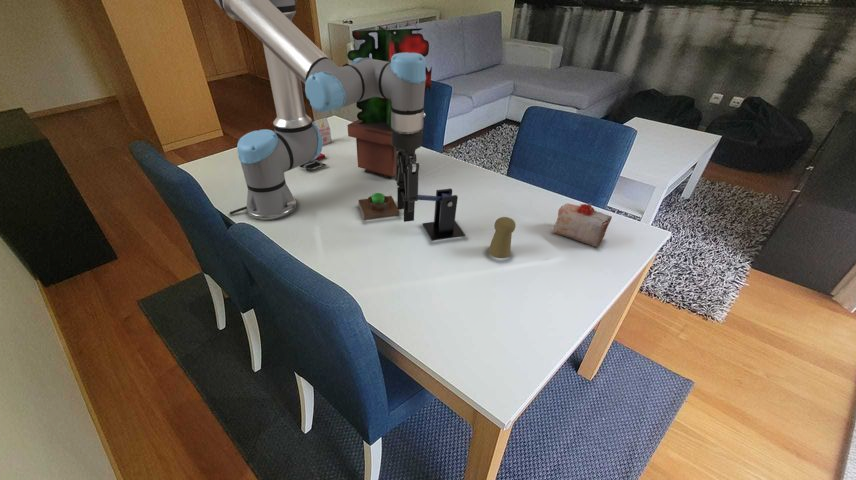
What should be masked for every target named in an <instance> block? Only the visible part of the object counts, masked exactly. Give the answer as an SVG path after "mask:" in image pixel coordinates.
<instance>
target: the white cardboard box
mask: <svg viewBox="0 0 856 480" xmlns="http://www.w3.org/2000/svg"><path fill="white" fill-rule="evenodd" d="M312 123H314V124H315V125H316V126H317V127H318V131H319V132H320V133H321V136H322V143H323V144H322V146H325V145H328V144H332V142H333V141H332V134H331V127H330V124H329V120H328V117H324V118H320V119H316V120H312Z"/></svg>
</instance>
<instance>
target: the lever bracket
mask: <svg viewBox="0 0 856 480" xmlns="http://www.w3.org/2000/svg"><path fill="white" fill-rule="evenodd" d="M442 193H446V194H451V195H452V196H444V197H441V203H440V201H434V202H435V203H434V213H433V214H434V215H433V221H429V222H423V223H422V226H423V228H424V230H425V232H426V233H427V235H428V237H429V239H430V240H431V242H434V241H440V240H446V239H447V240H448V239H454V238H459V237H460V238H461V237H465V236H466V234H465V233H464V231H463V230H462V228H461V227H460V226H459V224H458V223H457V221H456V213H457V207H458V196H459V195H457V194H453V189H452V188H444V189H436V192H435V196H441V194H442Z"/></svg>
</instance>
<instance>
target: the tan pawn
mask: <svg viewBox="0 0 856 480" xmlns="http://www.w3.org/2000/svg"><path fill="white" fill-rule="evenodd" d="M493 226H494V230H495V231H494V233H493V236H492V238H491V242H490V245H489V247H488V249H487V252H488V254H489V255H490V256H492V257H493V258H497V259H506V258H508V257H509V256H510V255H511V248H512V247H511V246H512V233H514V232H515V231H516V227H517V225H516V222H515V220H514V219H513V218H511V217H508V216H501V217H498V218H497V219H496V220H495V222H494V225H493Z"/></svg>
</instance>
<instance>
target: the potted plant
mask: <svg viewBox="0 0 856 480" xmlns="http://www.w3.org/2000/svg"><path fill="white" fill-rule="evenodd" d="M422 30H423V28H422V27H421V28H417V27H416V28H396V29H394V28H393V29H385V28H384V27H382V26H380V25H378V29H371V30H370V29H369V30H352V31H351V36H352V38H353V39H354V40H355V41H356V40H357V41H364V42H362V43H360V45H359V47H358V49H351V50H349V51H348V52H347V54H346V57H347V59H348V60H349V61H351V62H353V60H354V59H356V58H370V55H371V59H375V60H381V61H387V62H391V58H392V56H393V55H394V54H397V53H405V52H408V53H418V54H421V55H423V56H424V58H425V57H427V56H428V55H429V53H430V42H429V41H428V40H427V39H425V38H424V36H423V34H422V33H420V32H417V33H413V32H416V31H422ZM371 33H376V34H377V35H376V36H377V48H376V39H375V37H374V36H373V35H370V34H371ZM348 65H350V63H344V64H343V65H342V67H344V66H348ZM432 73H433V67H432V66H431V67H430V69H428V67H427V66H426V65H425V75H426V80H425V92H426V91H427V90H428V91H429V92H431V88H432ZM355 105H356V108H357V109H358V110H361V111H359V112H357V114H356V118H357V120H355V121H353V122H351V123H349V124H347V136H348V137H349V138H353V139H355V141H356V142H355V143H356V155H357V156H356V157H357V158H356V160H357V168H359V169H363V170H364V171H365V172H366V173H369V174H373V175H377V176H380V177H385V178H387V179H393V178H395V165H396V151H395V148H394V147H393V146H392V143H391V131H392V130H393V129H392V128H391V99H385V98H380V97H371V98H368V99H366V100H363V101H360V102H356V103H355ZM424 123H425V118H423V128H422V131H424V127H425V124H424Z"/></svg>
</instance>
